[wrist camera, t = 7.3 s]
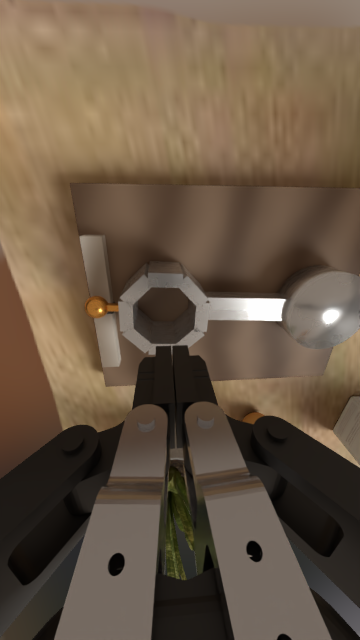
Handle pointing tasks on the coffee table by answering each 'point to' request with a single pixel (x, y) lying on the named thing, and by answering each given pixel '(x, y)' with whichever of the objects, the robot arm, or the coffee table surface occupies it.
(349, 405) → the supplement box
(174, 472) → the house plant
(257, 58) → the coffee table surface
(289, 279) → the baby rattle
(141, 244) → the stand base
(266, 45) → the coffee table surface
